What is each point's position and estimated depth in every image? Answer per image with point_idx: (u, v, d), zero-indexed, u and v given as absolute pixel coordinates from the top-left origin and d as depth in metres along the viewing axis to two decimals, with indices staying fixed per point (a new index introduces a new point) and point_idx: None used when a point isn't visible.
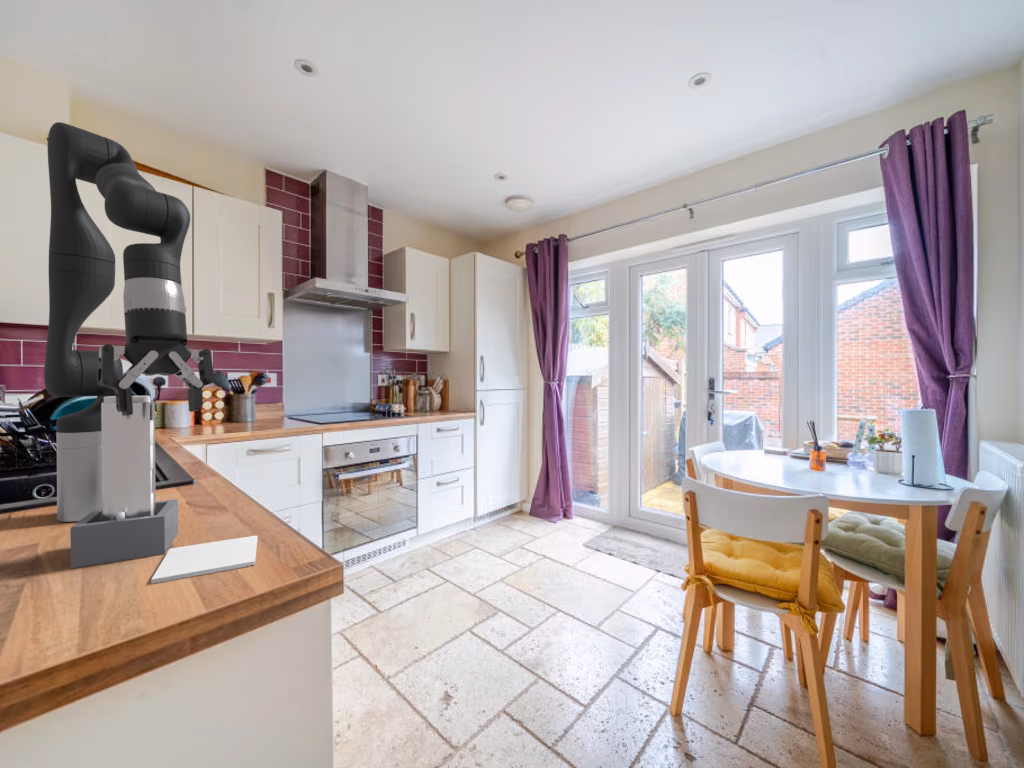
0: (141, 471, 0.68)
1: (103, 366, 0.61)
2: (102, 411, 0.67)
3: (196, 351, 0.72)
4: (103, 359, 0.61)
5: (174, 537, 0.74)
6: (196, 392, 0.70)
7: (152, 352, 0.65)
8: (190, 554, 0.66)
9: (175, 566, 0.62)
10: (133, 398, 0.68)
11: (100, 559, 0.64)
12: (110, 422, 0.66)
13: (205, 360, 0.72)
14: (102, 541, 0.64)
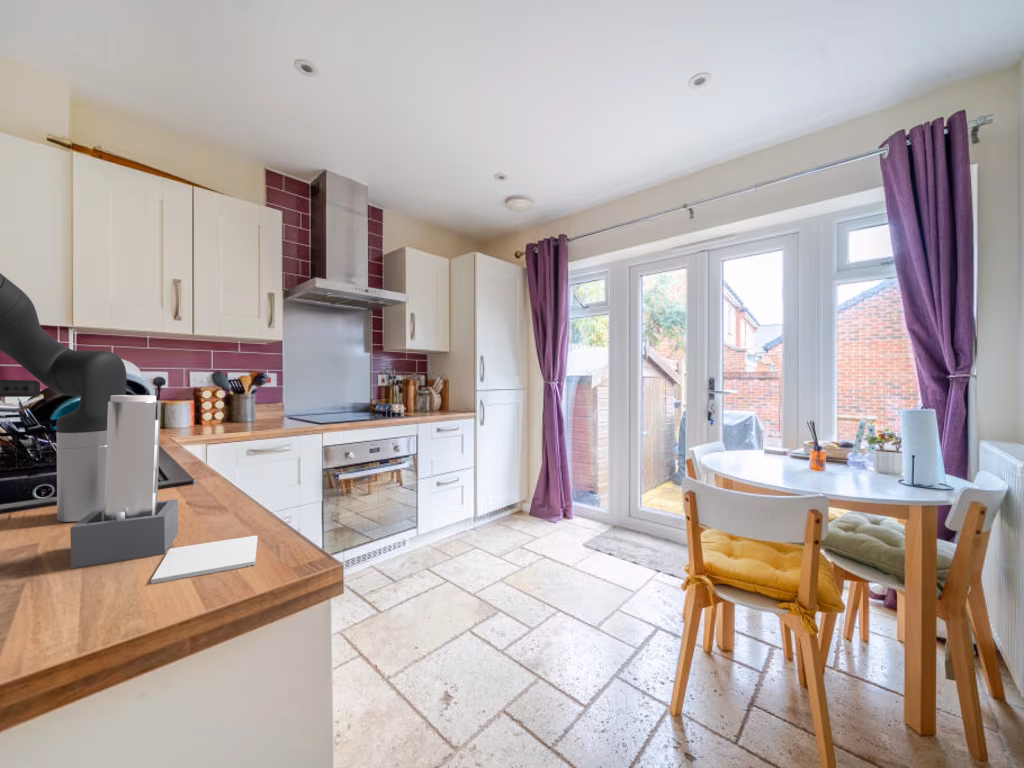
0: (144, 470, 0.68)
1: None
2: (108, 410, 0.67)
3: None
4: None
5: (174, 537, 0.74)
6: (5, 396, 0.56)
7: None
8: (190, 554, 0.66)
9: (175, 566, 0.62)
10: (140, 397, 0.68)
11: (100, 559, 0.64)
12: (116, 421, 0.67)
13: None
14: (102, 541, 0.64)
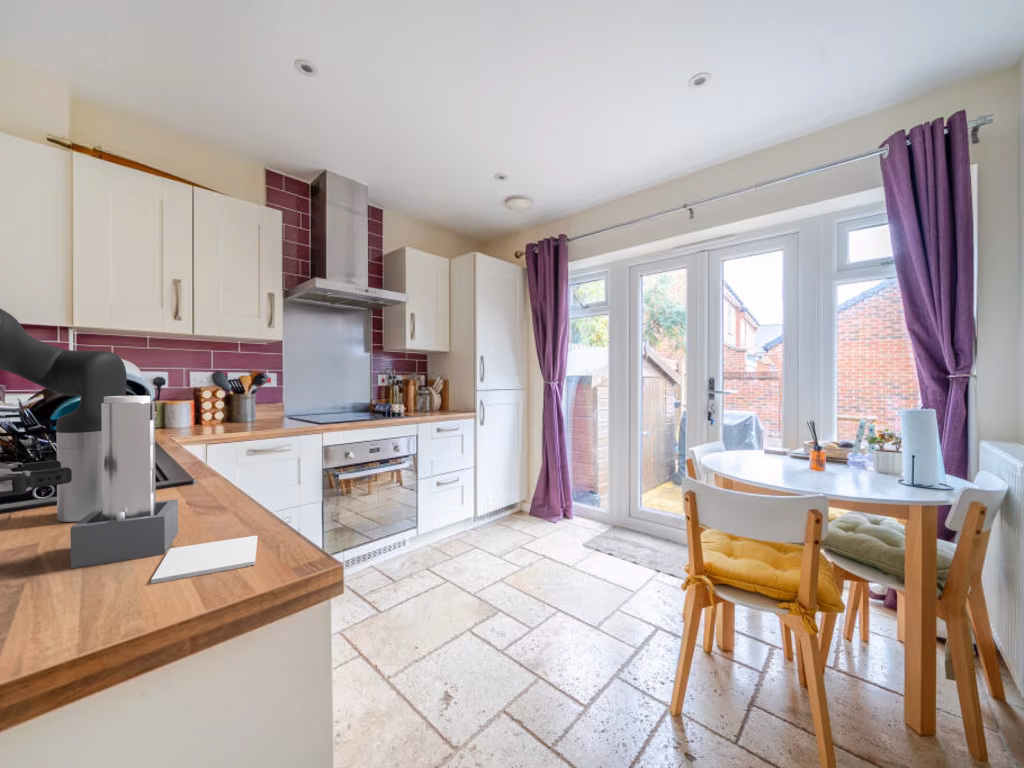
0: (141, 471, 0.68)
1: None
2: (102, 411, 0.67)
3: None
4: None
5: (174, 537, 0.74)
6: (40, 486, 0.59)
7: None
8: (190, 554, 0.66)
9: (175, 566, 0.62)
10: (133, 398, 0.68)
11: (100, 559, 0.64)
12: (110, 422, 0.66)
13: None
14: (102, 541, 0.64)
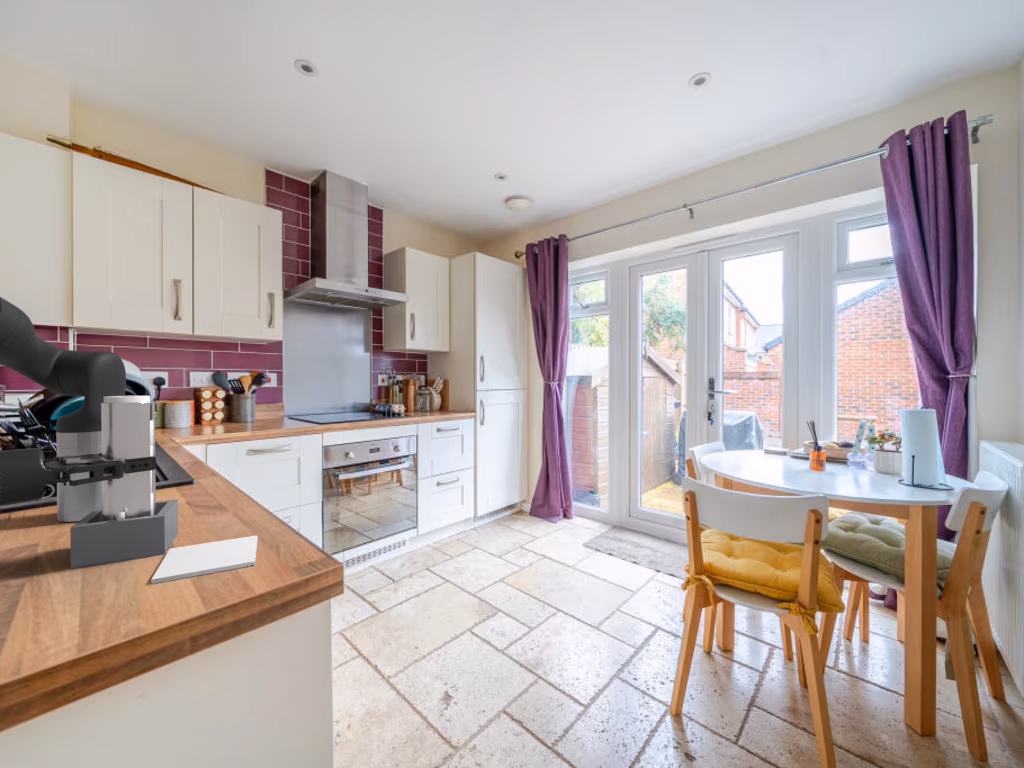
0: None
1: None
2: (102, 411, 0.67)
3: None
4: None
5: (174, 537, 0.74)
6: (131, 472, 0.67)
7: None
8: (190, 554, 0.66)
9: (175, 566, 0.62)
10: (133, 398, 0.68)
11: (100, 559, 0.64)
12: (110, 422, 0.66)
13: None
14: (102, 541, 0.64)
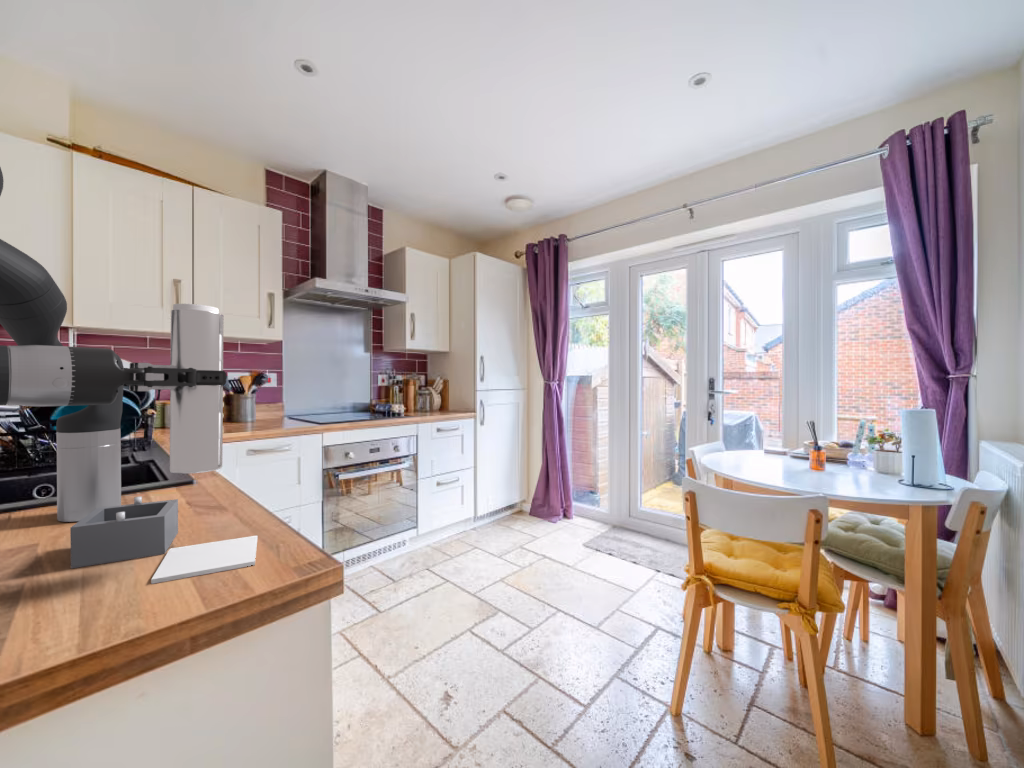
0: (210, 385, 0.64)
1: None
2: (172, 319, 0.63)
3: (142, 380, 0.56)
4: None
5: (174, 537, 0.74)
6: None
7: (132, 390, 0.60)
8: (190, 554, 0.66)
9: (175, 566, 0.62)
10: (204, 307, 0.64)
11: (100, 559, 0.64)
12: (181, 330, 0.62)
13: None
14: (102, 541, 0.64)
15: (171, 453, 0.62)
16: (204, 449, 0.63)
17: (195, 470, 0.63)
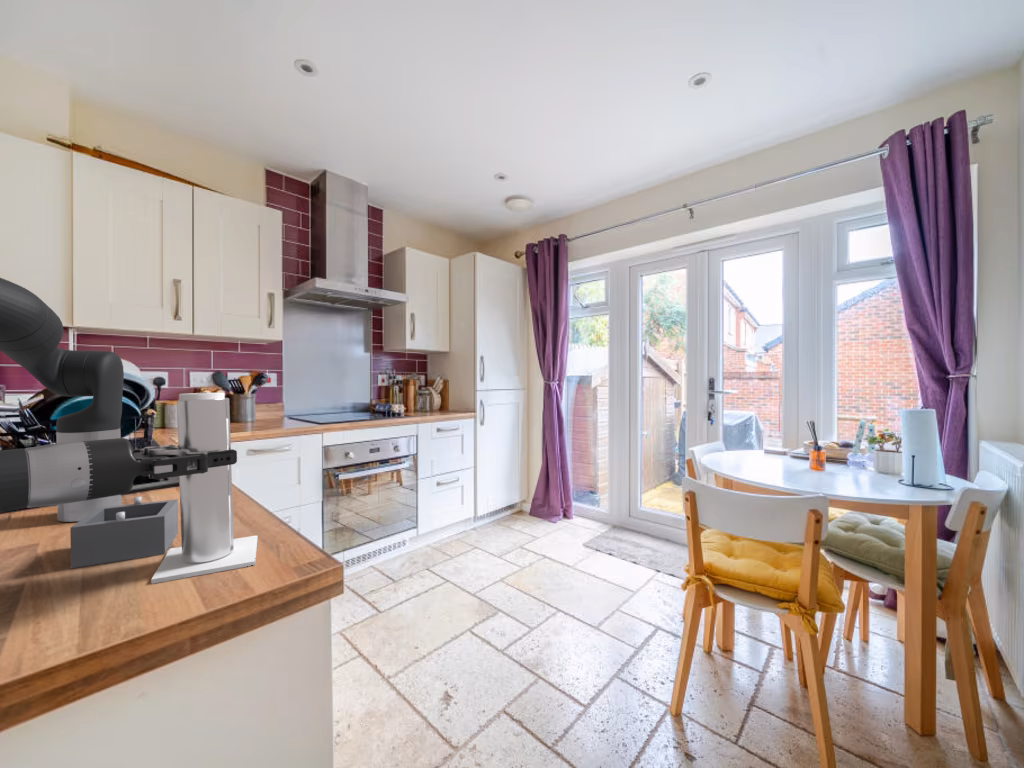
0: (220, 472, 0.64)
1: None
2: (179, 409, 0.62)
3: None
4: None
5: (174, 537, 0.74)
6: (213, 466, 0.62)
7: (146, 475, 0.60)
8: None
9: (175, 566, 0.62)
10: (210, 395, 0.64)
11: (100, 559, 0.64)
12: (188, 421, 0.62)
13: None
14: (102, 541, 0.64)
15: (183, 543, 0.63)
16: (215, 537, 0.64)
17: (208, 559, 0.63)
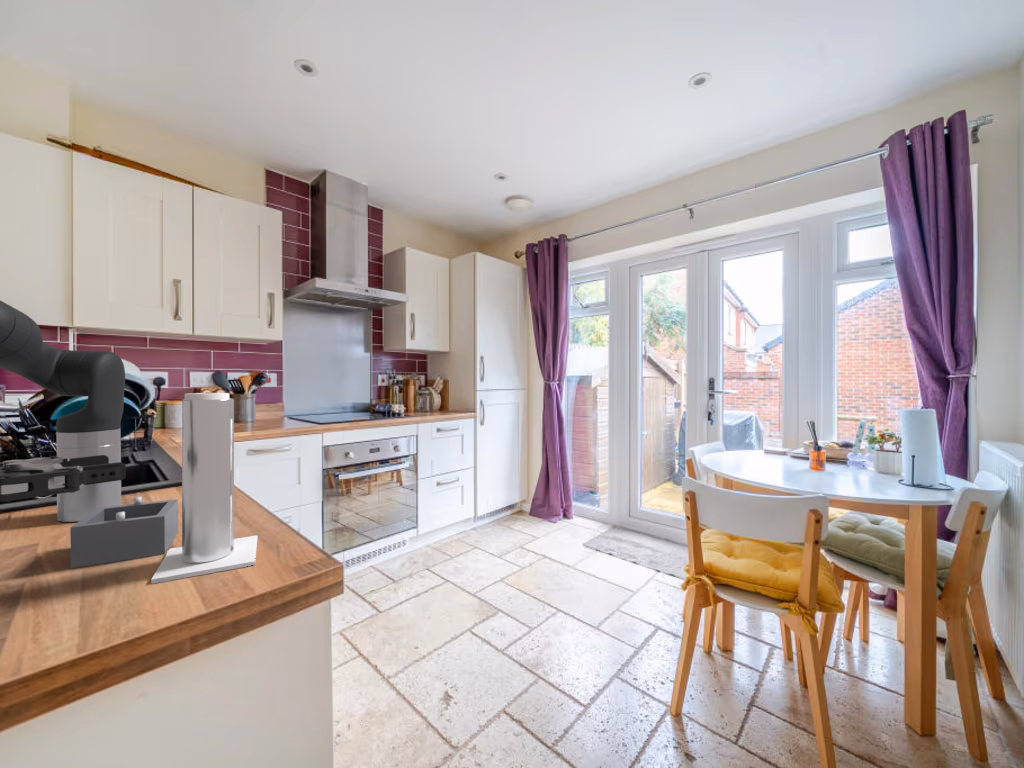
0: (222, 472, 0.64)
1: None
2: (184, 409, 0.63)
3: None
4: None
5: (174, 537, 0.74)
6: (92, 483, 0.52)
7: None
8: None
9: (175, 566, 0.62)
10: (215, 395, 0.64)
11: (100, 559, 0.64)
12: (193, 420, 0.62)
13: None
14: (102, 541, 0.64)
15: (184, 542, 0.63)
16: (216, 537, 0.64)
17: (208, 559, 0.63)
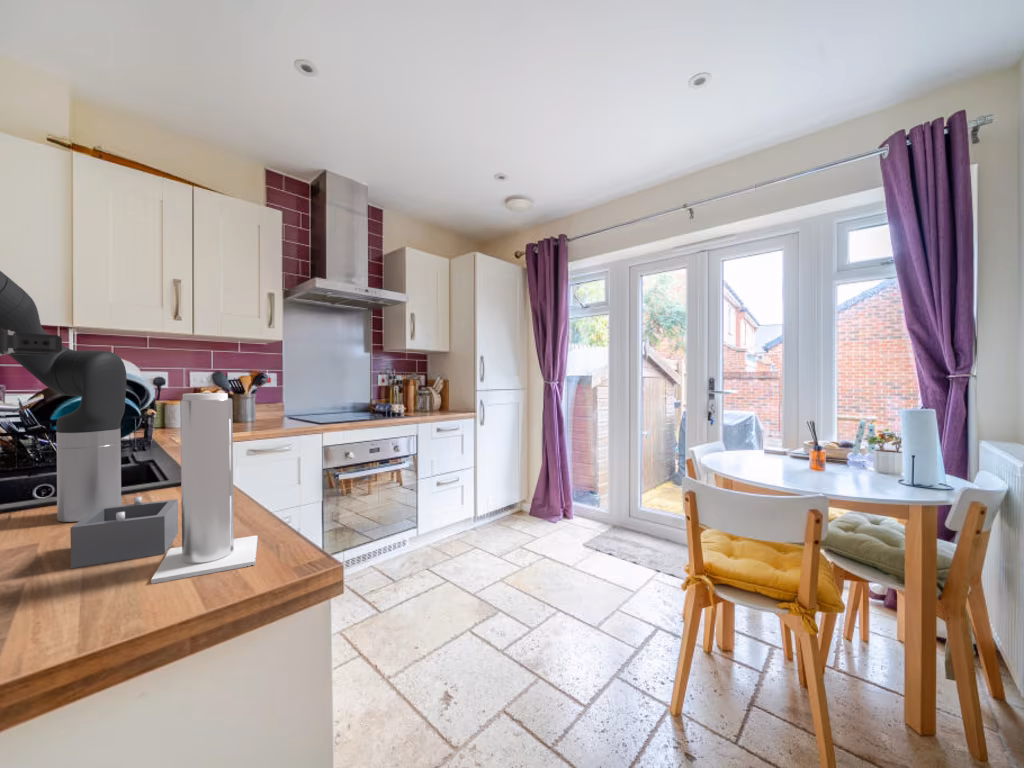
0: (221, 473, 0.64)
1: None
2: (182, 409, 0.63)
3: None
4: None
5: (174, 537, 0.74)
6: (25, 352, 0.51)
7: None
8: None
9: (175, 566, 0.62)
10: (213, 395, 0.64)
11: (100, 559, 0.64)
12: (191, 421, 0.62)
13: None
14: (102, 541, 0.64)
15: (184, 543, 0.63)
16: (216, 537, 0.64)
17: (208, 559, 0.63)
